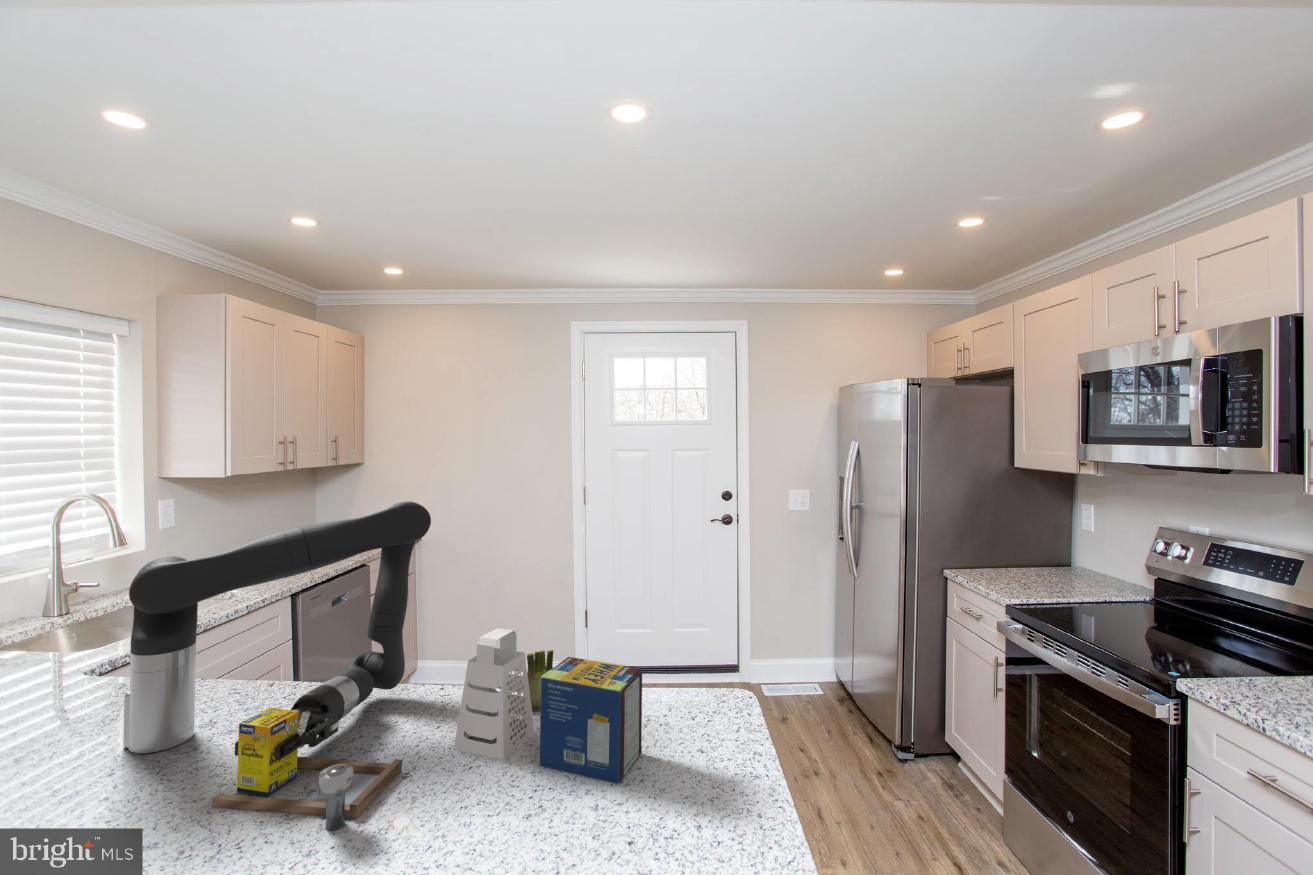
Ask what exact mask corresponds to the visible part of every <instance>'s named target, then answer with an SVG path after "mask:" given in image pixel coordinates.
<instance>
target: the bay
mask: <svg viewBox="0 0 1313 875" xmlns="http://www.w3.org/2000/svg"><path fill="white" fill-rule="evenodd" d="M337 764H350V765H352V766H353V787H352V788H351V790H349V791H348V792H347V793H345V819H358V818H359V817H360V816H361V815H362V814H363V813H364V812H365V811H366V810H367V809H368V808H369V807H370V806H371V805H372V803H373V802H375V800H377V798H378V797H379V796H380V795H381V794H382V793H383V792H384V791H385V790H386V789H387V788H388V786H390V785H391V783H393V781H395V779H396V778H397V777H398V776H399V775H400V774H401V773H402V772H403V768H402V767H403V760H402V759H400V758H399V759H398V758H395V759H394V760H393V761H391V762H390V763H388V762H373V761H359V760H348V759H347V760H346V759H335V758H321V757H309V756H308V757H305V756H297V769H307V770H319V771H323V770H324V769H326V768H328V767H330V766H333V765H337ZM211 801H212V802H211V803H212V806H211V807H215V808H216V807H217V808H227V809H238V810H240V809H241V810H250V811H251V810H252V811H263V812H273V813H287V814H297V815H308V816H309V815H310V816H320V817H322V816H323V817H326V798H324V797H321V796H319V794H318V790H316V791H315V792H314V793H313V794H312V795H310V796H309V797H308V798H307V799H306V800H301V799H299V800H298V799H288V798H276V797H264V796H253V795H250V796H248V795H241V794H238V795H237V794H226V793H218V794H216V796H214V797H212V799H211Z"/></svg>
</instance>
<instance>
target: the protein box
mask: <svg viewBox="0 0 1313 875" xmlns="http://www.w3.org/2000/svg"><path fill="white" fill-rule="evenodd" d="M642 706H643V668H642V667H638V666H630V665H624V664H618V663H617V664H616V663H611V662H610V663H609V662H603V661H598V660H591V659H585V658H579V657H571V656H568V657H566V658H565V659H564V660H562V661H561V662H559V663H558V664H556V666H554V667H553V668H552V669H551V670H550V671H548V672H547V673H545V674H544V675H542V676H541V710H540V713H539V714H540V719H539V721H540V722H539V724H540V725H539V762H538V763H539V764H538V766H541V767H544V768H545V767H546V768H549V769H553V770H558V771H562V772H567V773H571V774H575V775H580V776H583V777H588V778H592V779H596V780H600V781H605V782H608V783H611V784H612V783H613V784H620V783H621V782H622V780H624V777H625V776H626V775H627V773H628V772H629V771H630V769H631V768H632V766H633V765H634V764H635V762H636V761H637V760H638V758H639V757H640V756H641V754H642V753H643V752H642V746H643V744H642V735H643V734H642V728H643V727H642V726H643V725H642V724H643V723H642V722H643V720H642V719H643V716H642V714H643V707H642Z"/></svg>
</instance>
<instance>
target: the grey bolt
mask: <svg viewBox="0 0 1313 875" xmlns="http://www.w3.org/2000/svg"><path fill="white" fill-rule="evenodd" d="M353 774H354V772H353V766H352V765H350V764H337V765H333V766H330V767H328V768H326V769H324V770H320V772H319V774H318V787H317V788H318V790H317V791H318V794H319V796H321V797H324V798H326V816H325V830H326V831H328V832H332V831H333V832H334V831H337V830H341V829H342V827H344V825H345V821H346V820H345V819H346V818H345V793H347V792H348V791H349V790H351V788H352V787H353Z"/></svg>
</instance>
